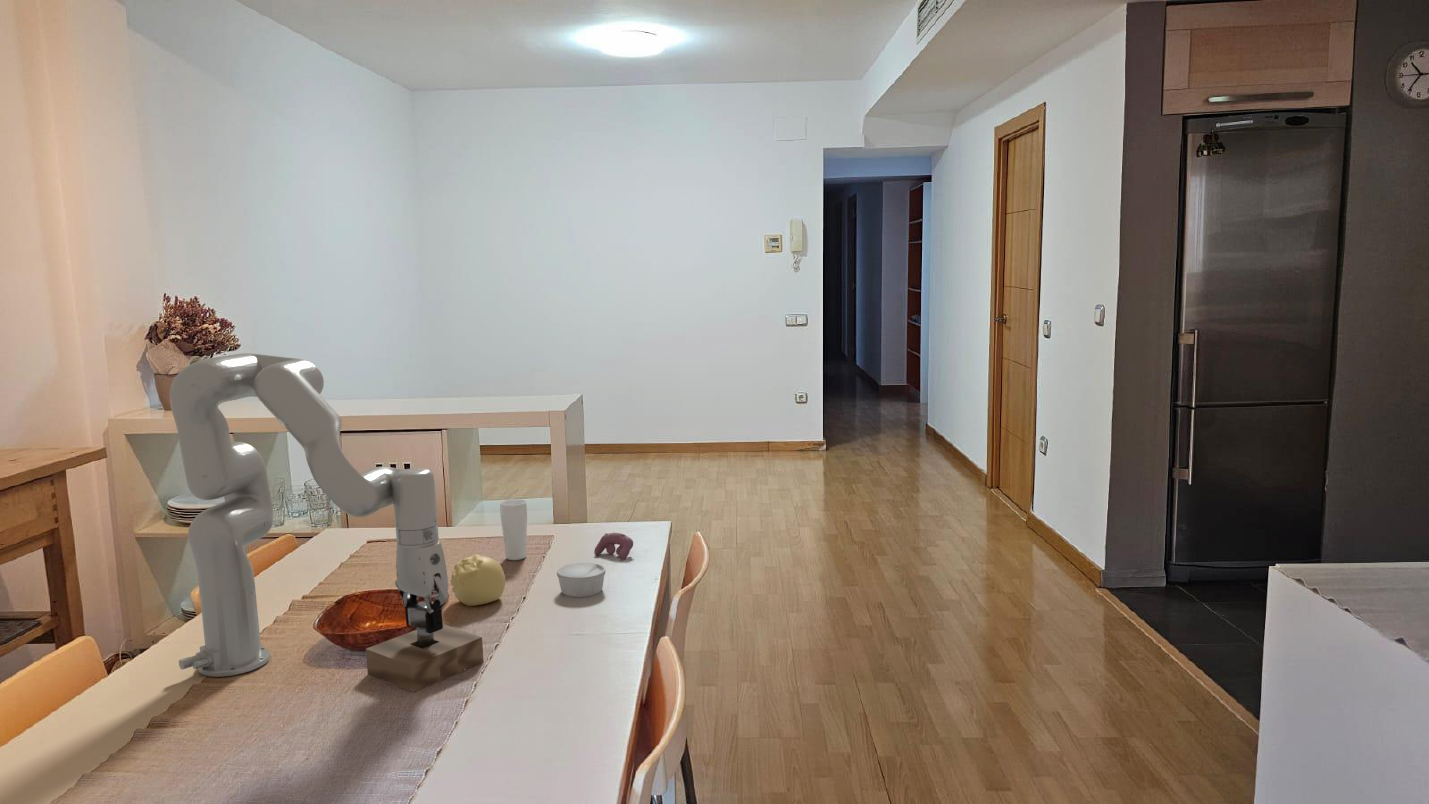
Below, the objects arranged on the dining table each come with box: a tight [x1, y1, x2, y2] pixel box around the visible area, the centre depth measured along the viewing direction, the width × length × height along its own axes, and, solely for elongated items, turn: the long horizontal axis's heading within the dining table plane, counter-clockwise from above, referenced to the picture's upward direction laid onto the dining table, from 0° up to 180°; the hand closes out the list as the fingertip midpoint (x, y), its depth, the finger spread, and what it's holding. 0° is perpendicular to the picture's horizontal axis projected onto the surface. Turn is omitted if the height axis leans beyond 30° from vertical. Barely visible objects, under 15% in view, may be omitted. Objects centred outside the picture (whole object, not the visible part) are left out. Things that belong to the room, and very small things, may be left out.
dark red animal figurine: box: [593, 532, 634, 561], centre depth 249 cm, size 10×5×7 cm, turn 59°
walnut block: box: [365, 624, 485, 693], centre depth 180 cm, size 16×14×5 cm
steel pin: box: [408, 600, 434, 647], centre depth 180 cm, size 6×6×8 cm
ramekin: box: [556, 562, 606, 598], centre depth 222 cm, size 11×11×5 cm
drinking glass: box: [499, 498, 528, 561], centre depth 248 cm, size 7×7×15 cm
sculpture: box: [450, 553, 506, 607], centre depth 216 cm, size 12×12×11 cm
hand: (424, 626), depth 180 cm, fingers closed on steel pin, 5 cm apart
